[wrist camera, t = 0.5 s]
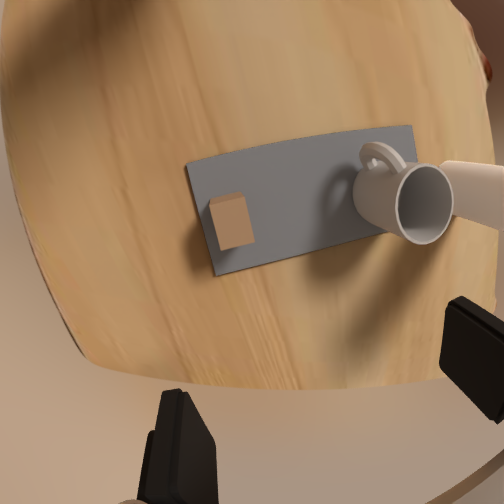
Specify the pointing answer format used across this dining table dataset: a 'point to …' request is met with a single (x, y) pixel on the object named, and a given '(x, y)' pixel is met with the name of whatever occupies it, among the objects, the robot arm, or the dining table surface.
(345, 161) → the strip
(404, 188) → the cup
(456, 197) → the cylindrical container
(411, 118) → the dining table surface
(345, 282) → the dining table surface
